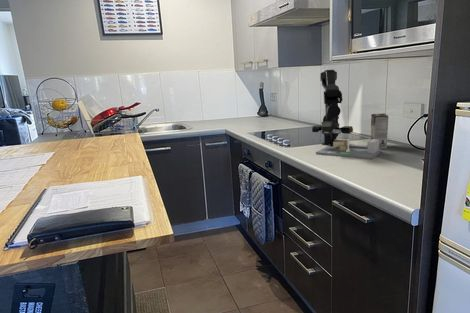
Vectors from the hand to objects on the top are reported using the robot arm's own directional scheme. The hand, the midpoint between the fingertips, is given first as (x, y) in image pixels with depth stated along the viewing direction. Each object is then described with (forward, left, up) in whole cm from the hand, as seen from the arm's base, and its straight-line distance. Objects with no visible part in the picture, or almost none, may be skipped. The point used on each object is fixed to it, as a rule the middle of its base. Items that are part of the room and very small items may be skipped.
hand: (332, 146), depth 164 cm
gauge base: (+2, +9, -2) cm, 9 cm away
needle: (+8, +11, 0) cm, 13 cm away
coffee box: (-16, +18, -2) cm, 24 cm away
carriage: (+2, +4, -1) cm, 5 cm away
